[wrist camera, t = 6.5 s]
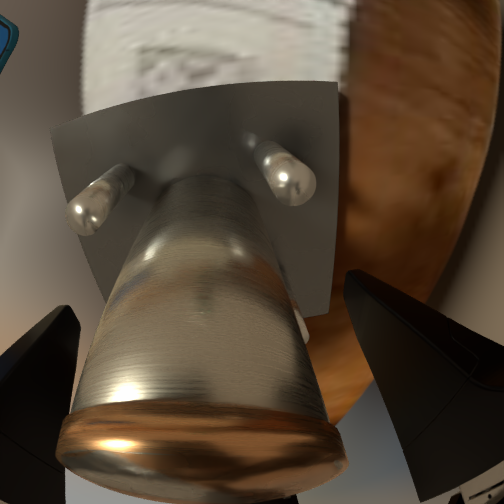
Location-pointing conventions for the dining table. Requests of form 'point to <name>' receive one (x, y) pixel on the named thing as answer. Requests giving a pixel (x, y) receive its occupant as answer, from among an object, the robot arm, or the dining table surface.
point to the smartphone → (7, 40)
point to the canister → (201, 366)
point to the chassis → (211, 172)
